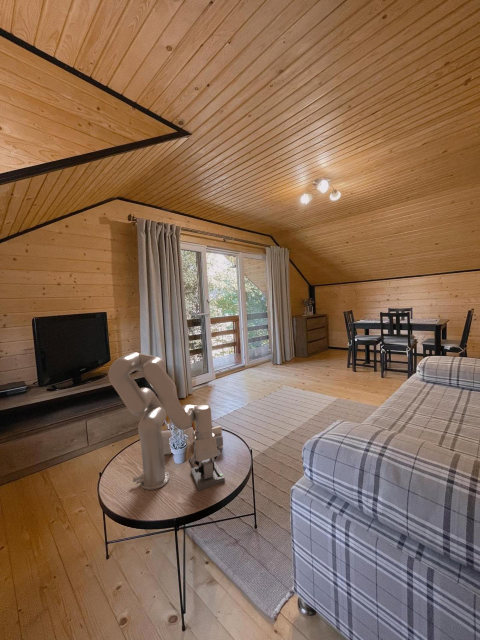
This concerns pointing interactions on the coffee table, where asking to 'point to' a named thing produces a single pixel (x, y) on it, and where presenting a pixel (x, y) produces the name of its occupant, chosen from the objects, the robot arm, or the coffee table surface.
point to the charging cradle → (208, 482)
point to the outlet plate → (218, 436)
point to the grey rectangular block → (207, 468)
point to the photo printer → (166, 441)
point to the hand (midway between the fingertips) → (206, 471)
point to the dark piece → (192, 463)
